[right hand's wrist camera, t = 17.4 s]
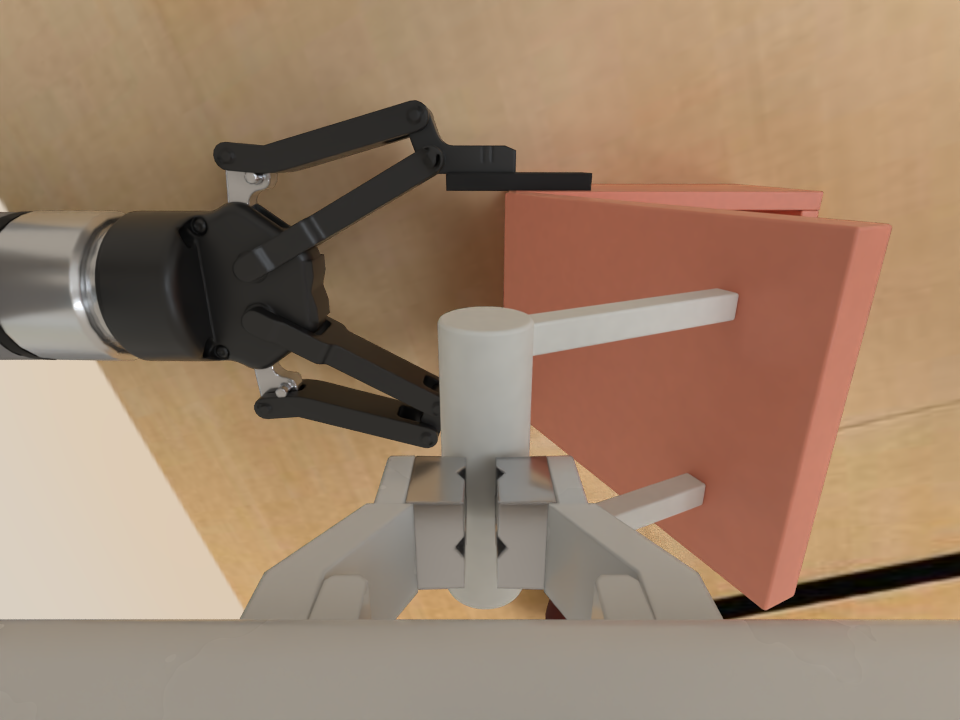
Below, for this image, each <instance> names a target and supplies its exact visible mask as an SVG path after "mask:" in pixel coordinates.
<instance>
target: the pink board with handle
mask: <svg viewBox="0 0 960 720" xmlns="http://www.w3.org/2000/svg"><path fill="white" fill-rule="evenodd" d="M891 230H892V226H891V225H889V224H884V223H873V222H861V221H850V220H839V219H827V218H816V217H805V216H793V215H782V214H771V213H759V212H748V211H737V210H725V209H714V208H703V207H691V206H680V205H669V204H657V203H646V202H635V201H623V200H612V199H601V198H589V197H578V196H567V195H555V194H544V193H532V192H515V193H506V194H505V242H504V308H503V307H468V308H462V309H457V310H453V311H450V312H447V313H445V314H443V315H442V316H441V317H440V318H439V320H438V353H439V385H440V418H441V451H442V456H446V457H466V465H467V488H466V496H467V545H466V571H465V588H458V589H448V590H449V591H450V593H451V594H452V596H453V597H454V598H455V599H456V600H458V601H459V602H461V603H462V604H464V605H466V606H469V607H472V608H477V609H494V608H499V607H502V606H504V605H506V604H508V603H510V602H512V601H513V600H514V599H515V598H516V597H517V596H518V595H519V593H520V592H521V590H522V589H502V588H497V575H496V545H495V458H496V457H529V448H530V424H531V425H532V426H533V427H534V428H536V429H537V430H538V431H540V432H541V433H542V434H543V435H545V436H546V437H547V438H548V439H550V440H551V441H552V442H553V443H555V444H556V445H557V446H558V447H560V448H561V449H562V450H563V451H565V452H566V453H567V454H568V455H571V456H572V457H573V458H574V459H575V460H576V461H577V462H578V463H580V464H581V465H582V466H583V467H585V468H586V469H587V470H588V471H590V472H591V473H592V474H594V475H595V476H596V477H597V478H599V479H600V480H601V481H602V482H604V483H605V484H606V485H607V486H609V487H610V488H611V489H612V490H614V491H615V492H616V493H617V494H619V496H616V497H613V498H610V499H607V500H604V501H601V502H598V503H595V504H597V505H598V506H600V507H601V508H603V509H604V510H606V511H607V512H609V513H610V514H612V515H613V516H615V517H616V518H618V519H619V520H621V521H622V522H624V523H625V524H627V525H628V526H630V527H631V528H633V529H634V530H636V529H639V528H642V527H644V526H647V525H650V524H652V523H655V524H656V525H658V526H659V527H660V528H661V529H663V530H664V531H665V532H666V533H668V534H669V535H670V536H671V537H673V538H674V539H675V540H676V541H678V542H679V543H680V544H681V545H683V546H684V547H685V548H686V549H688V550H689V551H690V552H691V553H693V554H694V555H695V556H697V557H698V558H699V559H700V560H702V561H703V562H704V563H705V564H707V565H708V566H709V567H710V568H712V569H713V570H714V571H715V572H717V573H718V574H719V575H720V576H722V577H723V578H724V579H725V580H727V581H728V582H729V583H730V584H732V585H733V586H734V587H735V588H737V589H738V590H739V591H740V592H742V593H743V594H744V595H745V596H747V597H748V598H749V599H751V600H752V601H753V602H754V603H756V604H757V605H758V606H759V607H761V608H762V609H763V610H767V609H769V608H771V607H773V606H775V605H777V604H779V603H781V602H783V601H785V600H786V599H788V598H790V597H792V596H793V595H794V593H795V589H796V585H797V582H798V578H799V574H800V571H801V567H802V563H803V559H804V556H805V552H806V548H807V544H808V541H809V537H810V533H811V529H812V526H813V522H814V518H815V514H816V511H817V507H818V503H819V499H820V496H821V492H822V488H823V484H824V481H825V477H826V473H827V469H828V466H829V462H830V458H831V454H832V451H833V447H834V443H835V440H836V436H837V432H838V428H839V425H840V421H841V417H842V413H843V410H844V406H845V402H846V398H847V395H848V391H849V387H850V383H851V380H852V376H853V372H854V368H855V365H856V361H857V357H858V353H859V350H860V346H861V342H862V338H863V335H864V331H865V327H866V323H867V320H868V316H869V312H870V308H871V305H872V301H873V297H874V294H875V290H876V286H877V282H878V279H879V275H880V271H881V267H882V264H883V260H884V256H885V252H886V249H887V245H888V241H889V237H890V234H891Z"/></svg>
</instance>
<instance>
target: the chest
mask: <svg viewBox="0 0 960 720" xmlns="http://www.w3.org/2000/svg"><path fill="white" fill-rule="evenodd" d="M515 192H532V193H544V194H555V195H567V196H578V197H589V198H601V199H612V200H623V201H635V202H646V203H657V204H669V205H680V206H691V207H703V208H714V209H725V210H737V211H748V212H759V213H771V214H782V215H793V216H805V217H816V218H817V217H818V213H819V212H818V210H819V209H820V205H821V201H822V196H823V192H822V191H811V190H799V189H788V188H776V187H764V186H752V185H740V184H591V191H509V193H515Z"/></svg>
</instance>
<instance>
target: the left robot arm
mask: <svg viewBox="0 0 960 720" xmlns="http://www.w3.org/2000/svg"><path fill="white" fill-rule="evenodd" d="M407 138H410V140H411V142H412V145H413V147H414V150H415V153H413V154H412V155H410V156H408V157H407V158H405V159H403V160H402V161H400V162H398V163H397V164H395V165H394V166H392V167H390V168H389V169H387V170H385V171H384V172H382V173H380V174H379V175H377V176H375V177H374V178H372V179H370V180H369V181H367V182H366V183H364V184H362V185H361V186H359V187H357V188H356V189H354V190H352V191H351V192H349V193H347V194H346V195H344V196H342V197H341V198H339V199H338V200H336V201H334V202H333V203H331V204H329V205H328V206H326V207H324V208H323V209H321V210H319V211H318V212H316V213H314V214H313V215H311V216H309V217H307V218H305V219H303V220H301V221H300V222H298V223H296V224H295V225H293V226H290V225H288V224H287V223H285V222H284V221H282V220H281V219H279V218H278V217H277V216H275V215H274V214H272V213H271V212H269V211H268V210H266V209H265V208H263V207H262V206H261V205H259V204H257V197H258V195H259V193H260V192H262V191H263V190H268V189H271V188H273V187H274V186H275V185H276V183H277V173H284V172H294V171H298V170H302V169H306V168H309V167H312V166H316V165H319V164H323V163H326V162H329V161H333V160H336V159H339V158H343V157H346V156H349V155H353V154H356V153H360V152H363V151H366V150H370V149H373V148H376V147H380V146H383V145H387V144H390V143H393V142H397V141H400V140H403V139H407ZM213 156H214V160H215V162H216V163H217V165H218V166H219V167H220V168H222V169H224V170H226V181H227V194H228V203H226V204H224V205H223V206H221V207H220V208H218V209H216V210H214V211H134V212H130V213H127V214H126V213H123V212H120V211H30V212H0V360H33V359H34V360H35V359H43V360H57V359H59V360H107V361H130V360H136V359H139V358H140V359H143V360H149V361H220V360H231V361H236V362H239V363H241V364H244V365H246V366H247V367H250V368H253V369H254V370H255V374H256V378H257V382H258V386H259V390H260V394H261V397H260V398H259V399H258V400H257V401H256V403H255V405H254V410H255V412H256V414H257V415H258V416H259V417H262V418H264V419H274V418H289V417H301V418H305V419H310V420H314V421H318V422H322V423H326V424H330V425H334V426H338V427H342V428H346V429H350V430H354V431H358V432H362V433H366V434H371V435H375V436H379V437H383V438H387V439H391V440H395V441H399V442H403V443H407V444H411V445H415V446H419V447H423V448H430V447H433V446H434V445H435V444H436V443H437V441H438V436H439V433H440V431H441V418H440V385H439V377H437V376H435V375H434V374H432V373H430V372H428V371H426V370H424V369H422V368H420V367H418V366H416V365H414V364H412V363H410V362H408V361H406V360H404V359H402V358H400V357H398V356H396V355H394V354H393V353H391V352H389V351H387V350H385V349H383V348H381V347H379V346H377V345H375V344H373V343H371V342H369V341H367V340H365V339H363V338H361V337H359V336H357V335H355V334H353V333H352V332H350V331H348V330H347V329H346V327H345V326H344V325H343V324H341V323H340V322H338V321H336V320H334V319H332V318H330V317H328V316H327V314H329V313H330V310H329V300H328V296H327V294H326V291H325V288H324V285H323V280H324V274H325V260H324V254H320V252H319V250H318V248H317V247H316V246H318V245H320V244H321V243H323V242H325V241H326V240H328V239H330V238H331V237H333V236H335V235H336V234H338V233H339V232H341V231H343V230H344V229H346V228H348V227H349V226H351V225H353V224H354V223H356V222H358V221H359V220H361V219H363V218H365V217H366V216H368V215H370V214H371V213H373V212H375V211H376V210H378V209H380V208H381V207H383V206H385V205H386V204H388V203H390V202H392V201H393V200H395V199H397V198H398V197H400V196H402V195H403V194H405V193H407V192H408V191H410V190H412V189H413V188H415V187H417V186H418V185H420V184H422V183H424V182H425V181H427V180H429V179H430V178H432V177H434V176H435V175H437V174H446V191H591V182H592V173H583V172H516V150H514V149H512V148H509V147H507V146H453V145H448V144H446V143H445V142H444V141H443V140H442V139H441V137H440V135H439V133H438V130H437V127H436V124H435V121H434V118H433V115H432V112H431V111H430V110H429V109H428V108H427V107H426V106H425V105H424V104H423V103H421V102H419V101H416V100H414V101H408V102H405V103H401V104H398V105H395V106H392V107H388V108H385V109H382V110H378V111H375V112H372V113H369V114H365V115H362V116H359V117H355V118H352V119H349V120H346V121H342V122H339V123H336V124H332V125H329V126H326V127H323V128H319V129H316V130H313V131H309V132H306V133H303V134H300V135H296V136H293V137H290V138H287V139H283V140H280V141H277V142H273V143H270V144H267V145H255V144H243V143H231V142H222V143H219V144H218V145H216V147H215V149H214V153H213ZM290 352H293V353H295V354H297V355H299V356H301V357H303V358H305V359H307V360H309V361H311V362H314V363H316V364H327V365H329V366H331V367H333V368H335V369H337V370H339V371H341V372H343V373H345V374H347V375H349V376H352V377H354V378H356V379H358V380H360V381H362V382H364V383H366V384H368V385H370V386H372V387H374V388H376V389H378V390H380V391H382V392H384V393H386V394H388V395H390V396H392V397H394V398H396V399H398V400H396V399H392V398H388V397H384V396H380V395H376V394H372V393H368V392H364V391H360V390H356V389H352V388H348V387H344V386H340V385H336V384H332V383H328V382H324V381H319V380H311V379H302V378H301V374H300V373H298V372H292V371H287V370H285V369H284V368H282V367H281V365H280V364H279V361H280V360H281V359H282V358H284V357H285V356H286V355H288V354H289V353H290Z"/></svg>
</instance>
